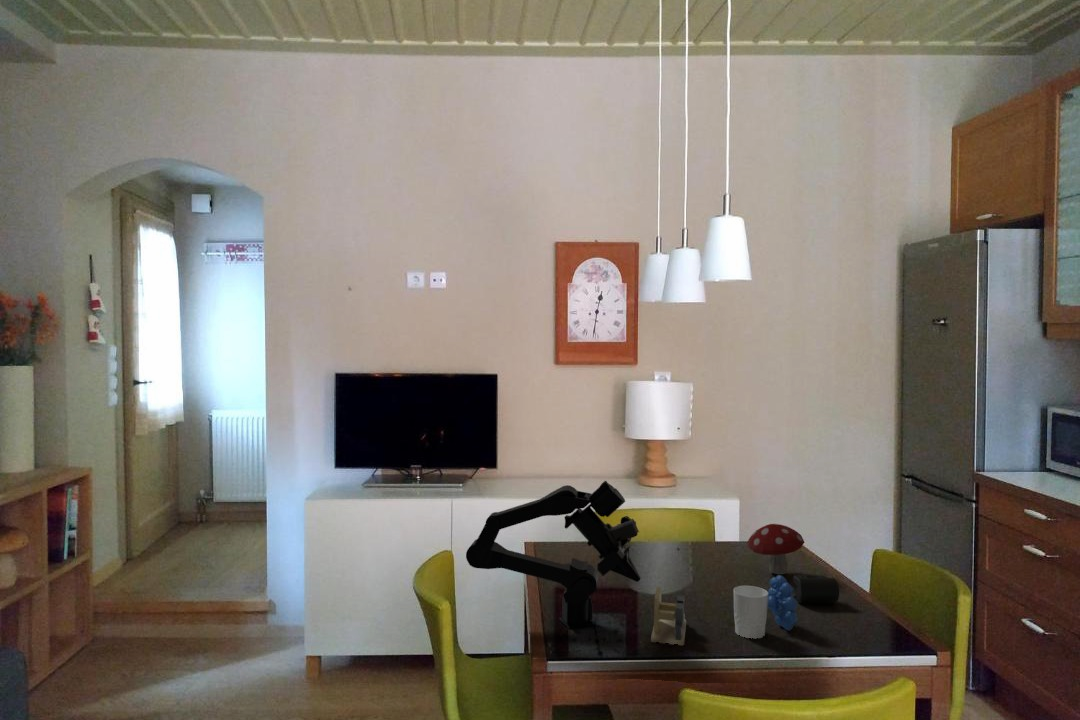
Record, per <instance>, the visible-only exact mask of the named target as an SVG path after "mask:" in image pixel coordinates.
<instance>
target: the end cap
mask: <svg viewBox="0 0 1080 720" xmlns="http://www.w3.org/2000/svg"><path fill="white" fill-rule="evenodd" d="M792 582H793V583H794V584H795V585H796V586H792V588H793V594H794V595H793V596H792V597H793V598H794V599H795V600H796V601H797V602H798V604H811V605H812V604H817V605H820V604H821V605H822V604H825V605H827V604H829V605H831V604H832V605H833V604H835V603H836V602H838V600H839V599H840V598H839V597H840V586H839V584H838V581H837V580H836V578H835V577H827V576H826V575H824V574H822V575H820V574H816V575H815V577H808V576H807V575H804V574H800V575H799V574H796V575H793V576H792Z"/></svg>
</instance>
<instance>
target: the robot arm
mask: <svg viewBox="0 0 1080 720" xmlns="http://www.w3.org/2000/svg"><path fill="white" fill-rule="evenodd" d="M625 502H626V500H625V498H624V496H623V495H622V493H621V492H620V491H619V490H618V489H617V488H615V487H614V486H613V485H612V484H610V483H609V482H608V481H607V480H604V481H603V482H602V483H600V485H599V487H598V488H596V490H594V491H593V492H592V493H591V492H584V491H579V490H577V489H576V488H575V487H573V486H571V485H569V484H568V485H562V486H561V487H559V488H556V490H553V491H552V492H550V493H548V494H547V495H545V496H543V497H541V498H539V499H536V500H532V501H530V502H526V503H523V504H520V505H517V506H513V507H510V508H507V509H504V510H502V511H495V512H492V513H490V515H489V516H488V517H487V518H486V521H485V523H484V526H483V528H482V530H481V532H480V533H479V535H478V536H477V538H476V539H474V541H473V542H472V543H471V545H470V546H469V547H468V548H467V550H466V552H465V559H466V562H467V563H468V565H469V566H470V567H472V568H474V569H482V570H493V569H496V570H497V569H505V570H508V571H512V572H516V573H520V574H523V575H527V576H531V577H533V578H534V577H535V578H539V579H543V580H546V581H550V582H554V583H557V584H559V585H561V586H562V587H564V592H563V596H562V606H561V607H562V608H561V610H562V611H561V613H562V615H561V616H559V618H558V619H559V621H561V623H563V624H564V625H565V627H567V628H568V629H571V630H572V629H576V628H577V629H579V628H585V627H592V626H594V625H595V623H594V621H593V618H594V604H593V602H592V597H591V595H592V594H593V593H595V591H596V590H597V587H598V579H599V574H600V575H601V576H602V577H604V576H605V575H606V574H608V573H609V572H610V571H611V572H612V573H613V572H614V573H616V574H618V575H620V576H623V577H625V578H628V579H629V580H631V581H635V582H636V583H639V581H640V580H641V576H640V573H639V572H638V570H637V568H636V566H635V564H634V563H633V561H632V559H631V557H630V555H631V553H630V552H631V546H630V545H629V546H627V548H624V546H625V545H626V544H627V543H630V542H631V540H632V538H635V537H637V536H638V533H639V532H640V531H639V529H638V526H637V522H636V521H635V519H634V518H630V517H629V516H628V515H624V516H622V517H621V518H620V522H619V523H618V524H617V525H614V526H613V525H611V523H608V522H607V523H605V522H604V521H603V520H602V519H601V518H602V517H603V518H605V517H607V518H609V517H610V516H611V515H612V514H614V513H615V512H616V511H617V510H618V509H619V508H620V507H621V506H622V505H623V504H624V503H625ZM570 514H571V515H570ZM564 515H565V516H564ZM546 516H547V517H549V516H555V517H556V516H564V529H566V530H567V529H568V528H569V527H571V526H572V525H573V526H574V527H575V528H576V529H577V531H579V532H580V534H581V535H582V536H583V537H584V538H585V539H586V540H587V542H586V544H587V546H589V547H591V546H592V547H593V548H594V549H595V551H596V552H597V553H598V558H599V561H598V563H597V569H596V568H595V566H594V565H591V564H589V561H582V560H579V559H577V558H574V557H572V558H571V561H570V563H560V562H556V561H552V560H547V559H544V558H541V557H536V556H532V555H528V554H525V553H521V552H517V551H513V550H509V549H506V547H504V546H503V545H501V544H499V543H498V542H496V539H497V536H498V534H499V532H500V530H503V529H506V528H510V527H513V526H517V525H518V524H522V523H526V522H528V521H532V520H535V519H538V518H541V517H546ZM599 516H600V517H599ZM598 572H599V574H598Z"/></svg>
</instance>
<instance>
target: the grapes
mask: <svg viewBox="0 0 1080 720" xmlns="http://www.w3.org/2000/svg"><path fill="white" fill-rule="evenodd" d="M768 586H770V588H768V591H767V592H768V607H767V608H769V610H770V612H772V614H773V615H775V617H774V621H775V622H776V624H777V625H778V626H779V627H782V628H783V629H784V630H786V631H791V630H792V629H793V627H794V625H795V624H796V623H797V621H798V620H799V619H798V618H799V616H798V614H797V613H796V612H795V611H796V610H797V607H798V604H799V603H798V602H797V601H796V600H795V599H794V598H793V596H792V595H793V594H794V592H793V586H792V585H791V584H790V583H789V582H788V581H787V579H786V578H785V577H784V576H783V575H782V574H777V575H776V576H775V577H774V576H773V577H771V579H770V580H769V585H768Z"/></svg>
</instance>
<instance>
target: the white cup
mask: <svg viewBox="0 0 1080 720" xmlns="http://www.w3.org/2000/svg"><path fill="white" fill-rule="evenodd" d="M732 592H733V616H734V618H733V620H734V625H735V626H734V633H736V635H737V636H739V635H740V637H741V638H744V637H745V638H746V639H749V638H751V639H752V638H753V639H752V640H754V639H755V640H756V639H757V638H758V639H762V638H764V637H765V635H766V625H767V619H768V618H767V617H768V608H769V607H768V591H767V590H766V589H764V588H761V587H758V586H754V585H738V586H735V587H734V588H733V591H732ZM763 636H764V637H763ZM745 638H744V639H745Z"/></svg>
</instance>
